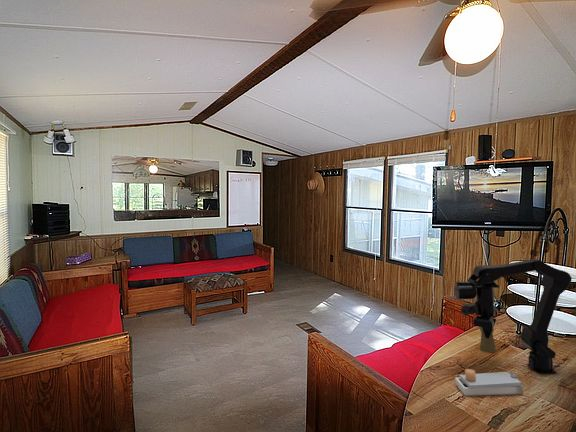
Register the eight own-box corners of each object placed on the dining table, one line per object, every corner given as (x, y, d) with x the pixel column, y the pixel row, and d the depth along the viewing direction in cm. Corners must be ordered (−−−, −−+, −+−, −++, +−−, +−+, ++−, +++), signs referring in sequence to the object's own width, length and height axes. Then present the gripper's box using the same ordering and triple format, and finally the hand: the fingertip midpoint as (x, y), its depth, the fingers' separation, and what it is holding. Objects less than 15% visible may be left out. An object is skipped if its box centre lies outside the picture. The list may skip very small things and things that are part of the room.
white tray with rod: (510, 382, 114) (509, 375, 114) (523, 394, 107) (522, 386, 107) (455, 384, 115) (454, 377, 115) (464, 395, 108) (464, 388, 108)
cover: (510, 375, 114) (509, 363, 114) (524, 385, 107) (523, 373, 107) (459, 378, 114) (459, 366, 114) (470, 388, 107) (469, 376, 107)
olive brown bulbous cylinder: (498, 353, 136) (497, 327, 136) (483, 352, 137) (481, 327, 137) (492, 347, 142) (491, 322, 142) (477, 346, 143) (476, 322, 143)
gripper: (466, 290, 136) (468, 326, 136) (456, 302, 122) (459, 342, 122) (497, 293, 129) (499, 331, 129) (490, 306, 115) (493, 348, 115)
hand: (487, 338), depth 124 cm, fingers closed
